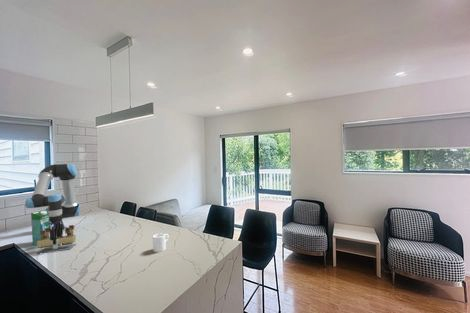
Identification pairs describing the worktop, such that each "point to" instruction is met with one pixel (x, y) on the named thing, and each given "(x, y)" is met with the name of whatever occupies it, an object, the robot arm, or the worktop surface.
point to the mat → (60, 248)
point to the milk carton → (39, 224)
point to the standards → (46, 232)
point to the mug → (159, 242)
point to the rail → (60, 240)
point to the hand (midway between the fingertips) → (57, 247)
